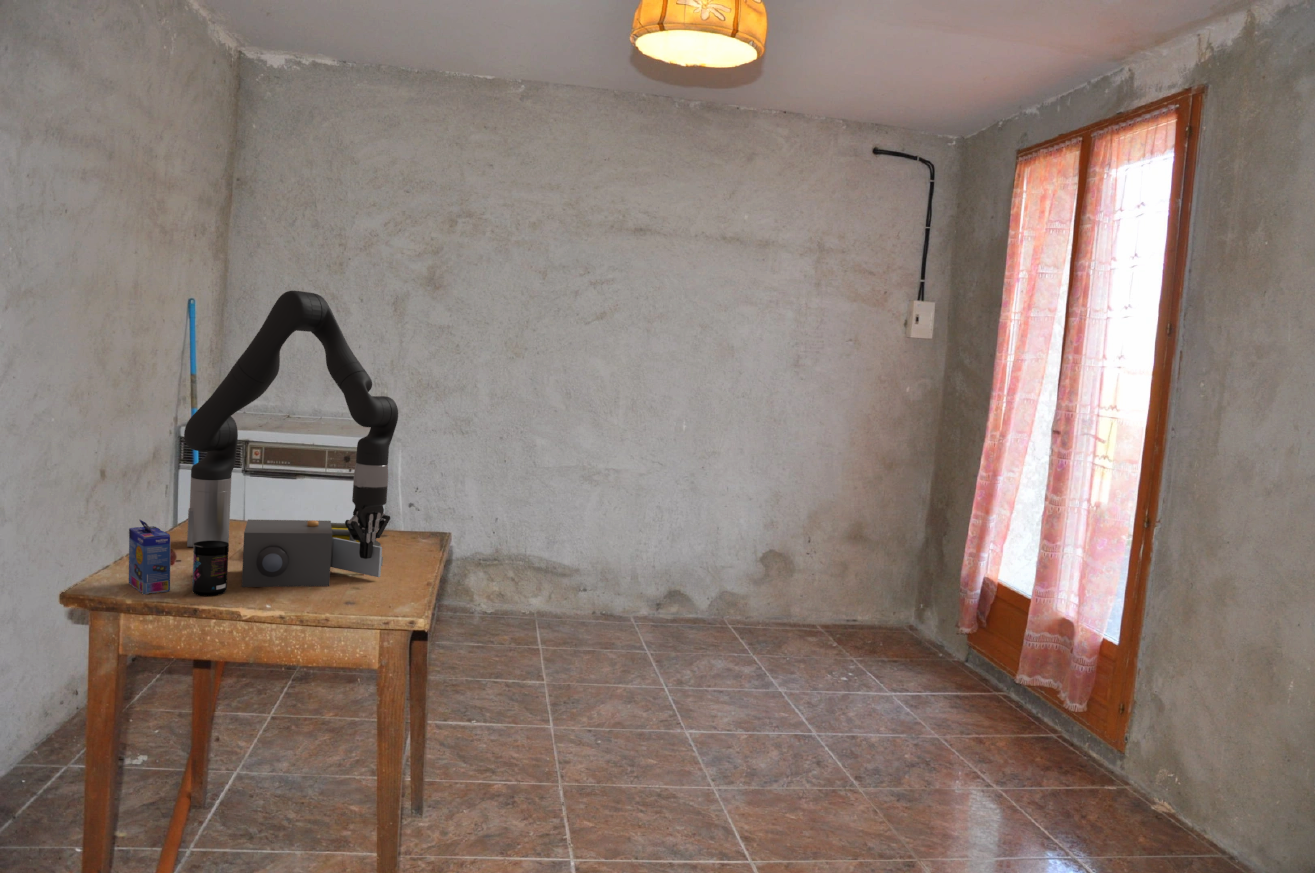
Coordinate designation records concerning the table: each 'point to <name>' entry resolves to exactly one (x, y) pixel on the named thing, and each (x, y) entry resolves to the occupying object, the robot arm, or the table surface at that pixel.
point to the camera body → (286, 553)
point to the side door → (355, 558)
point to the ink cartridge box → (149, 559)
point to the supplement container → (210, 568)
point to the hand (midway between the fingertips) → (365, 557)
